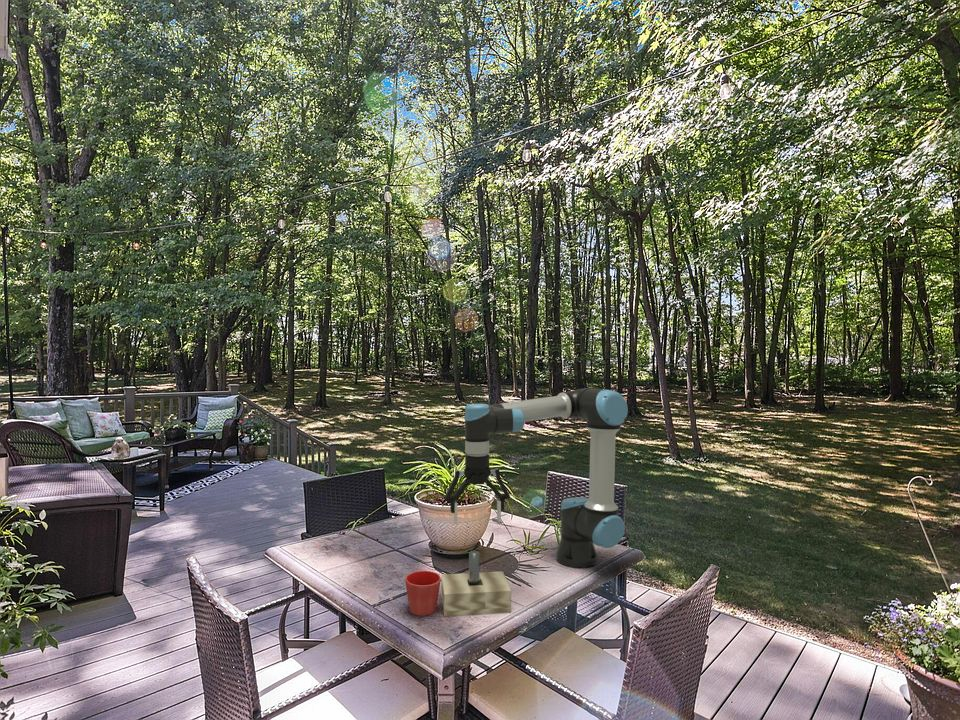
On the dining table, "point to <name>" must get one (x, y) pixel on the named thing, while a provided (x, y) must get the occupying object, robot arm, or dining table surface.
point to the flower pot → (422, 591)
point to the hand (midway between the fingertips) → (477, 522)
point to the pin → (474, 568)
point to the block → (475, 594)
